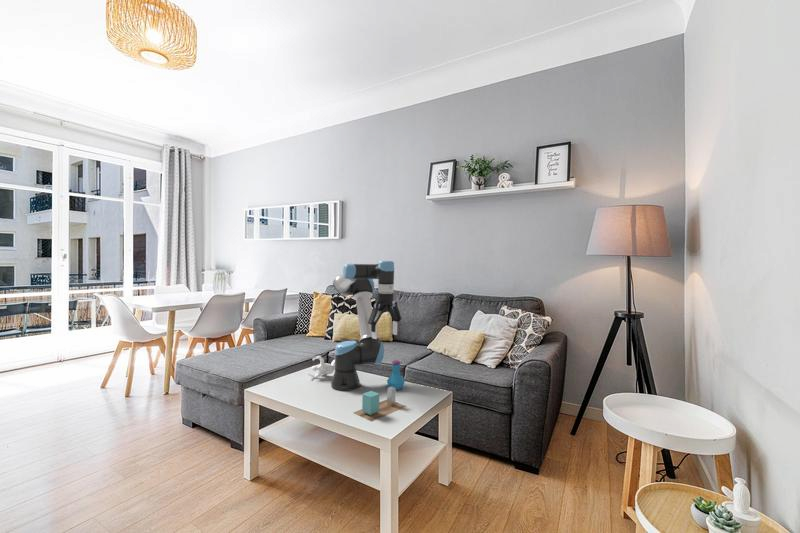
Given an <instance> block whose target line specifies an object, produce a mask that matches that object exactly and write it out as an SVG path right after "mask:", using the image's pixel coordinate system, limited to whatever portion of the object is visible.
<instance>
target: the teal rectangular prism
mask: <svg viewBox="0 0 800 533" xmlns="http://www.w3.org/2000/svg"><path fill="white" fill-rule="evenodd" d="M379 402H380V393H378V392H376V391H373V390H370V391H367V392H364V393H362V403H361V404H362V406H361V407H362V411H363V412H365V413H368V414H370V415H371V414H374V413H376V412H378V411H379Z"/></svg>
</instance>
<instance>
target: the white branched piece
mask: <svg viewBox="0 0 800 533" xmlns="http://www.w3.org/2000/svg"><path fill="white" fill-rule="evenodd" d="M317 359H318V360H319V361H320V362H319V365H313V366H312V367H311V371H313V372H316V371H317V373H316V374H315V375H314V374H311V373H310V372H308V374H307V375H308V376H310V377H311V378H312V379H317V378H320V377H321V376H322V375H331V374H334V372H335V359H333V360H332V361H331V363H325V359H324V358H323V357H322V356H321V355H318V356H316V357H314V358H312V359H311V360H312V361H313V362H314V361H315V360H317Z"/></svg>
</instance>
